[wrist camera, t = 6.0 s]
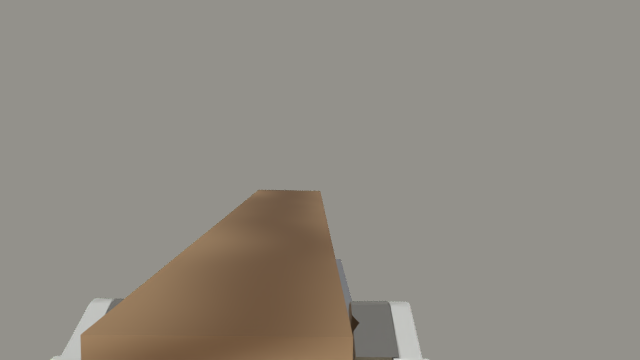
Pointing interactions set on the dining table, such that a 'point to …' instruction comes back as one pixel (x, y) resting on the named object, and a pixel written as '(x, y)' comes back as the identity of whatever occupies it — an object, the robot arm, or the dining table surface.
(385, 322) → the robot arm
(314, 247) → the brown block
